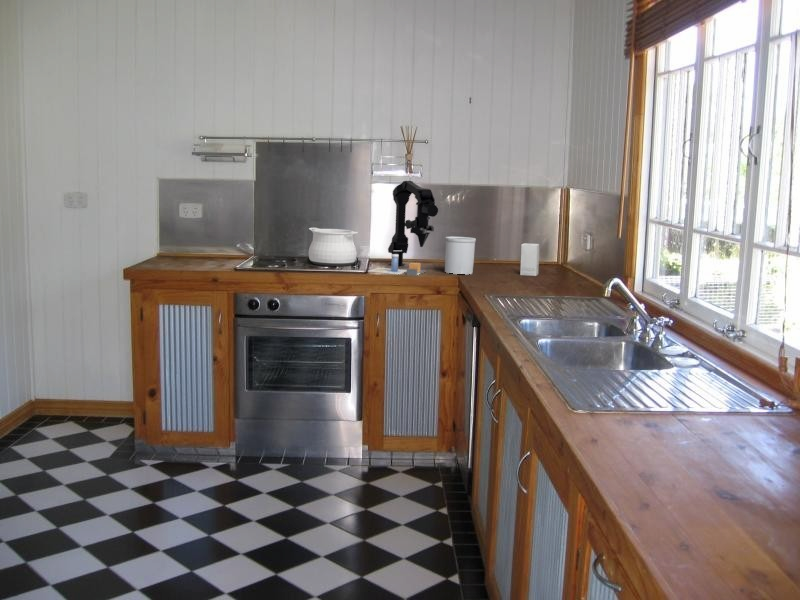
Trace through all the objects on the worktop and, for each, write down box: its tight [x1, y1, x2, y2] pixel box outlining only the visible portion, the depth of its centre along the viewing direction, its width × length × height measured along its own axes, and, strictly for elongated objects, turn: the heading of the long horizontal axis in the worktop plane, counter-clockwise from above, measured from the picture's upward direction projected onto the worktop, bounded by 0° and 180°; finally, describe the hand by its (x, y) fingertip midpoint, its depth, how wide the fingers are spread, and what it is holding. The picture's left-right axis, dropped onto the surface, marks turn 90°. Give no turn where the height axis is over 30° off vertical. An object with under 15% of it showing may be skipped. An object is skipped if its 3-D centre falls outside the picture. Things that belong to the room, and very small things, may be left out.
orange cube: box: [408, 262, 422, 273], centre depth 425 cm, size 4×4×4 cm
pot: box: [308, 227, 359, 267], centre depth 449 cm, size 28×24×17 cm
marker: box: [390, 253, 399, 272], centre depth 428 cm, size 3×3×8 cm
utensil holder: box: [444, 236, 477, 276], centre depth 435 cm, size 15×15×18 cm
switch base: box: [406, 268, 427, 277], centre depth 427 cm, size 14×5×3 cm, turn 160°
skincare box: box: [519, 242, 540, 277], centre depth 439 cm, size 8×7×16 cm
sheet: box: [367, 267, 407, 275], centre depth 431 cm, size 15×16×1 cm
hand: (421, 246), depth 431 cm, fingers closed
